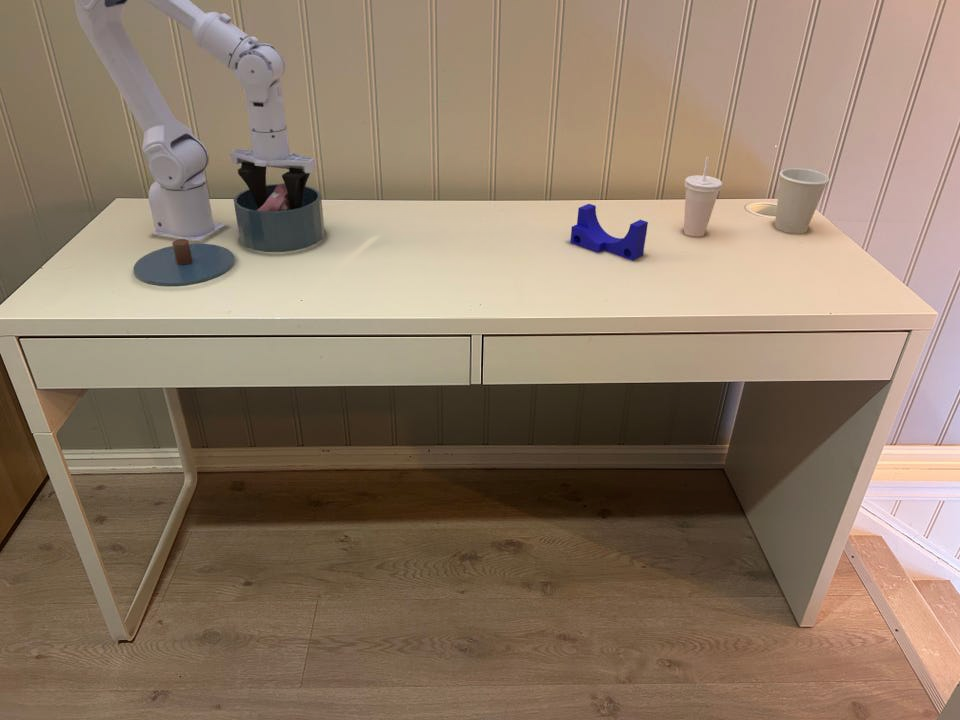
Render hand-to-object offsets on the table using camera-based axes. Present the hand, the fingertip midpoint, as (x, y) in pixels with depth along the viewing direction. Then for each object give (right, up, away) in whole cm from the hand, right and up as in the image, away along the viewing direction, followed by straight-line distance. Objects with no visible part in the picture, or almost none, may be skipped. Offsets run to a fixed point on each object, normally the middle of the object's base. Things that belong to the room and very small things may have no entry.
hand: (279, 209), depth 124 cm
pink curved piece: (0, -1, +1) cm, 2 cm away
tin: (0, -5, +3) cm, 5 cm away
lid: (-13, -11, -9) cm, 18 cm away
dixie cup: (+92, -1, +12) cm, 93 cm away
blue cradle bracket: (+56, -7, +2) cm, 56 cm away
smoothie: (+73, -3, +9) cm, 74 cm away
